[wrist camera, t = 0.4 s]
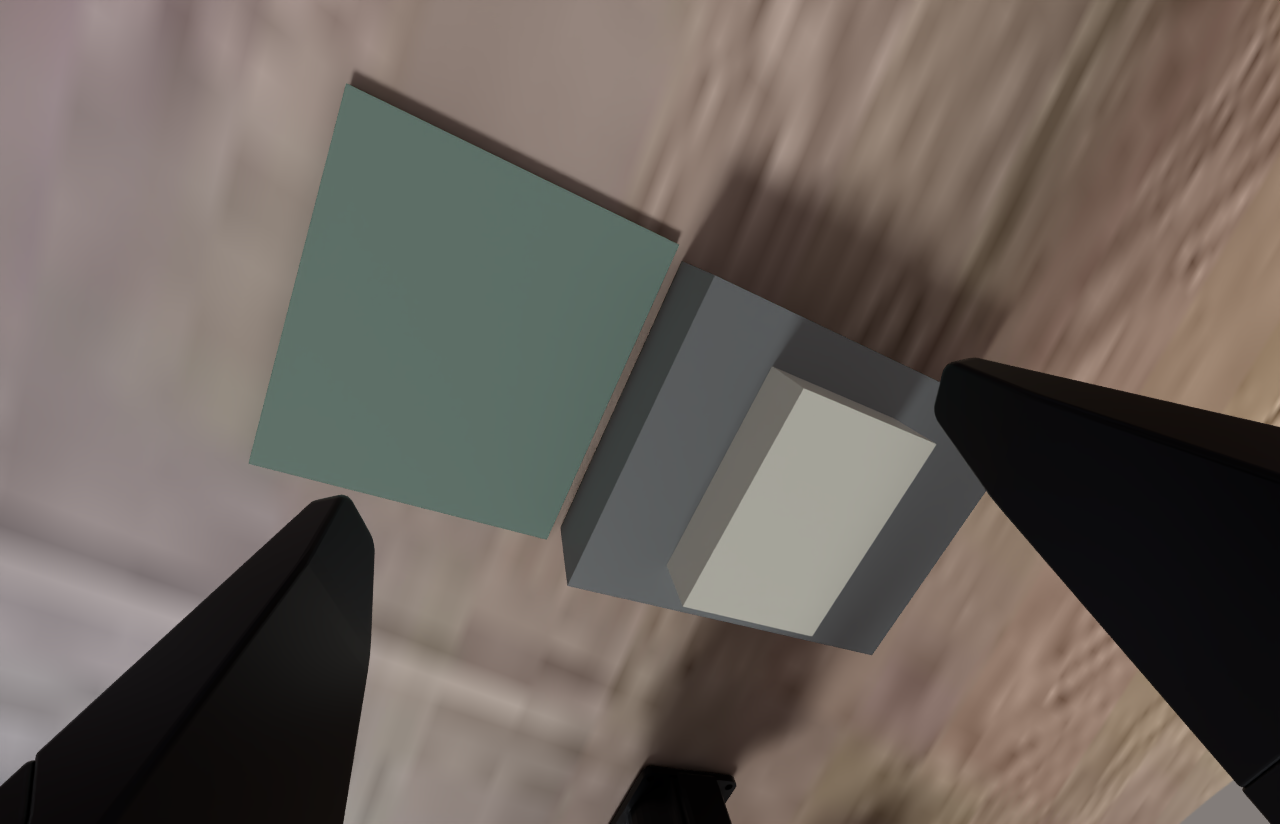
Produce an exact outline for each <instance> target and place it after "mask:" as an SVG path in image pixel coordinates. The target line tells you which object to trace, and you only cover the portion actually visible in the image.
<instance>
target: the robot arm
mask: <svg viewBox="0 0 1280 824" xmlns="http://www.w3.org/2000/svg"><path fill="white" fill-rule="evenodd" d="M934 414H935V417H936V420H937V422H938V423H939V425H940V426H941V428H942V429H943V430H944V432H945V433H946V435H947V436H948V438H949V439H950V440H951V442H952V443H953V445H954V446H955V447H956V449H957V450H958V452H959V453H960V455H961V456H962V457H963V459H964V460H965V462H966V463H967V465H968V466H969V467H970V469H971V470H972V472H973V473H974V475H975V476H976V477H977V479H978V480H979V482H980V483H981V485H982V486H983V487H984V489H985V490H986V491H987V493H988V494H989V495H990V497H991V498H992V499H993V500H994V502H995V503H996V504H997V505H998V506H999V508H1000V509H1001V510H1002V511H1003V512H1004V514H1005V515H1006V516H1007V517H1008V518H1009V519H1010V521H1011V522H1012V523H1013V524H1014V525H1015V526H1016V527H1017V529H1018V530H1019V531H1020V532H1021V533H1022V534H1023V536H1024V537H1025V538H1026V539H1027V540H1028V541H1029V543H1030V544H1031V545H1032V546H1033V547H1034V548H1035V550H1036V551H1037V552H1038V553H1039V554H1040V555H1041V557H1042V558H1043V559H1044V560H1045V561H1046V562H1047V564H1048V565H1049V566H1050V567H1051V568H1052V569H1053V570H1054V572H1055V573H1056V574H1057V575H1058V576H1059V577H1060V579H1061V580H1062V581H1063V582H1064V583H1065V584H1066V586H1067V587H1068V588H1069V589H1070V590H1071V591H1072V593H1073V594H1074V595H1075V596H1076V597H1077V598H1078V600H1079V601H1080V602H1081V603H1082V604H1083V605H1084V607H1085V608H1086V609H1087V610H1088V611H1089V612H1090V614H1091V615H1092V616H1093V617H1094V618H1095V619H1096V620H1097V622H1098V623H1099V624H1100V625H1101V626H1102V627H1103V629H1104V630H1105V631H1106V632H1107V633H1108V634H1109V636H1110V637H1111V638H1112V639H1113V640H1114V641H1115V643H1116V644H1117V645H1118V646H1119V647H1120V648H1121V650H1122V651H1123V652H1124V653H1125V654H1126V655H1127V657H1128V658H1129V659H1130V660H1131V661H1132V662H1133V664H1134V665H1135V666H1136V667H1137V668H1138V669H1139V670H1140V672H1141V673H1142V674H1143V675H1144V676H1145V677H1146V679H1147V680H1148V681H1149V682H1150V683H1151V684H1152V686H1153V687H1154V688H1155V689H1156V690H1157V691H1158V693H1159V694H1160V695H1161V696H1162V697H1163V698H1164V700H1165V701H1166V702H1167V703H1168V704H1169V705H1170V707H1171V708H1172V709H1173V710H1174V711H1175V712H1176V713H1177V715H1178V716H1179V717H1180V718H1181V719H1182V720H1183V722H1184V723H1185V724H1186V725H1187V726H1188V727H1189V729H1190V730H1191V731H1192V732H1193V733H1194V734H1195V736H1196V737H1197V738H1198V739H1199V740H1200V741H1201V743H1202V744H1203V745H1204V746H1205V747H1206V748H1207V750H1208V751H1209V752H1210V753H1211V754H1212V755H1213V757H1214V758H1215V759H1216V760H1217V761H1218V762H1219V763H1220V765H1221V766H1222V767H1223V768H1224V769H1225V770H1226V772H1227V773H1228V774H1229V775H1230V776H1231V777H1232V779H1233V780H1234V781H1235V782H1236V783H1237V784H1238V785H1239V786H1241V787H1243V789H1242V790H1243V792H1244V793H1245V794H1246V796H1247V797H1248V798H1249V799H1250V800H1251V802H1252V803H1253V804H1254V805H1255V806H1256V807H1257V809H1258V810H1259V811H1260V812H1261V813H1262V814H1263V815H1264V817H1265V818H1266V819H1267V820H1268V821H1269V823H1270V824H1280V427H1277V426H1273V425H1269V424H1264V423H1260V422H1256V421H1251V420H1247V419H1242V418H1238V417H1234V416H1229V415H1225V414H1221V413H1216V412H1212V411H1207V410H1203V409H1199V408H1194V407H1190V406H1185V405H1181V404H1177V403H1172V402H1168V401H1164V400H1159V399H1155V398H1150V397H1146V396H1142V395H1137V394H1133V393H1129V392H1124V391H1120V390H1115V389H1111V388H1107V387H1102V386H1098V385H1094V384H1089V383H1085V382H1080V381H1076V380H1072V379H1067V378H1063V377H1059V376H1054V375H1050V374H1045V373H1041V372H1037V371H1032V370H1028V369H1024V368H1019V367H1015V366H1010V365H1006V364H1002V363H997V362H993V361H989V360H984V359H980V358H968V359H964V360H959V361H955V362H951V363H949V364H948V365H947V366H946V367H945V368H944V370H943V373H942V377H941V381H940V384H939V388H938V392H937V396H936V400H935V404H934ZM374 555H375V550H374V543H373V539H372V536H371V534H370V532H369V530H368V528H367V527H366V525H365V523H364V521H363V519H362V518H361V516H360V514H359V512H358V510H357V509H356V507H355V505H354V503H353V502H352V500H351V499H350V498H349V497H348V496H345V495H337V496H332V497H328V498H323V499H318V500H315V501H313V502H311V503H310V504H309V505H308V506H306V507H305V508H304V509H303V510H302V511H301V512H300V513H299V514H298V515H297V516H296V517H294V518H293V519H292V520H291V521H290V522H289V523H288V524H287V525H286V526H285V527H284V528H282V529H281V530H280V531H279V532H278V533H277V534H276V535H275V536H274V537H273V538H271V539H270V540H269V541H268V542H267V543H266V544H265V545H264V546H263V547H262V548H261V549H259V550H258V551H257V552H256V553H255V554H254V555H253V556H252V557H251V558H250V559H249V560H247V561H246V562H245V563H244V564H243V565H242V566H241V567H240V568H239V569H238V570H237V571H235V572H234V573H233V574H232V575H231V576H230V577H229V578H228V579H227V580H226V581H225V582H223V583H222V584H221V585H220V586H219V587H218V588H217V589H216V590H215V591H214V592H212V593H211V594H210V595H209V596H208V597H207V598H206V599H205V600H204V601H203V602H202V603H200V604H199V605H198V606H197V607H196V608H195V609H194V610H193V611H192V612H191V613H190V614H188V615H187V616H186V617H185V618H184V619H183V620H182V621H181V622H180V623H179V624H177V625H176V626H175V627H174V628H173V629H172V630H171V631H170V632H169V633H168V634H167V635H165V636H164V637H163V638H162V639H161V640H160V641H159V642H158V643H157V644H156V645H155V646H153V647H152V648H151V649H150V650H149V651H148V652H147V653H146V654H145V655H144V656H142V657H141V658H140V659H139V660H138V661H137V662H136V663H135V664H134V665H133V666H132V667H130V668H129V669H128V670H127V671H126V672H125V673H124V674H123V675H122V676H121V677H120V678H118V679H117V680H116V681H115V682H114V683H113V684H112V685H111V686H110V687H109V688H107V689H106V690H105V691H104V692H103V693H102V694H101V695H100V696H99V697H98V698H97V699H95V700H94V701H93V702H92V703H91V704H90V705H89V706H88V707H87V708H86V709H85V710H83V711H82V712H81V713H80V714H79V715H78V716H77V717H76V718H75V719H74V720H72V721H71V722H70V723H69V724H68V725H67V726H66V727H65V728H64V729H63V730H62V731H60V732H59V733H58V734H57V735H56V736H55V737H54V738H53V739H52V740H51V741H50V742H48V743H47V744H46V745H45V746H44V747H43V748H42V749H41V750H40V751H39V752H38V753H37V754H36V758H35V760H34V761H29V762H27V763H25V764H24V765H23V766H22V767H21V768H20V769H19V770H18V771H16V772H15V773H14V774H13V775H12V776H11V777H10V778H9V779H8V780H7V781H6V782H5V783H3V784H2V785H1V786H0V824H343V821H344V815H345V809H346V803H347V796H348V790H349V784H350V778H351V772H352V766H353V759H354V753H355V747H356V741H357V735H358V729H359V722H360V716H361V710H362V704H363V698H364V692H365V685H366V679H367V673H368V666H369V658H370V647H371V630H372V605H373V580H374ZM735 788H736V782H735V780H734V777H733V776H731V775H723V774H714V773H706V772H697V771H689V770H680V769H672V768H663V767H655V766H649V767H646V768H645V769H643V770H642V772H641V773H640V775H639V777H638V778H637V780H636V782H635V784H634V785H633V787H632V789H631V790H630V792H629V794H628V795H627V797H626V799H625V801H624V802H623V804H622V806H621V807H620V809H619V811H618V812H617V814H616V816H615V817H614V819H613V821H612V823H611V824H732V823H731V820H730V817H729V814H728V811H727V808H726V805H725V803H726V801H727V800H728V798H729V797H730V795H731V794H732V792H733V791H734V789H735Z"/></svg>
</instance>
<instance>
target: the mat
mask: <svg viewBox="0 0 1280 824" xmlns="http://www.w3.org/2000/svg"><path fill="white" fill-rule="evenodd" d="M678 246H679V244H676V243H674V242H672V241H670V240H668V239H666V238H664V237H662V236H660V235H658V234H656V233H654V232H652V231H650V230H648V229H646V228H643V227H641V226H639V225H637V224H635V223H633V222H631V221H629V220H627V219H625V218H623V217H621V216H619V215H617V214H615V213H613V212H610V211H608V210H606V209H604V208H602V207H600V206H598V205H596V204H594V203H592V202H590V201H588V200H586V199H584V198H582V197H580V196H577V195H575V194H573V193H571V192H569V191H567V190H565V189H563V188H561V187H559V186H557V185H555V184H553V183H551V182H549V181H547V180H544V179H542V178H540V177H538V176H536V175H534V174H532V173H530V172H528V171H526V170H524V169H522V168H520V167H518V166H516V165H514V164H511V163H509V162H507V161H505V160H503V159H501V158H499V157H497V156H495V155H493V154H491V153H489V152H487V151H485V150H483V149H481V148H478V147H476V146H474V145H472V144H470V143H468V142H466V141H464V140H462V139H460V138H458V137H456V136H454V135H452V134H450V133H448V132H445V131H443V130H441V129H439V128H437V127H435V126H433V125H431V124H429V123H427V122H425V121H423V120H421V119H419V118H417V117H415V116H412V115H410V114H408V113H406V112H404V111H402V110H400V109H398V108H396V107H394V106H392V105H390V104H388V103H386V102H384V101H382V100H379V99H377V98H375V97H373V96H371V95H369V94H367V93H365V92H363V91H361V90H359V89H357V88H355V87H353V86H351V85H349V84H346V86H345V90H344V94H343V97H342V101H341V105H340V109H339V113H338V117H337V121H336V125H335V129H334V133H333V136H332V140H331V144H330V148H329V152H328V156H327V160H326V164H325V168H324V171H323V175H322V179H321V183H320V187H319V191H318V195H317V199H316V203H315V207H314V210H313V214H312V218H311V222H310V226H309V230H308V234H307V238H306V242H305V245H304V249H303V253H302V257H301V261H300V265H299V269H298V273H297V277H296V281H295V284H294V288H293V292H292V296H291V300H290V304H289V308H288V312H287V316H286V319H285V323H284V327H283V331H282V335H281V339H280V343H279V347H278V351H277V355H276V358H275V362H274V366H273V370H272V374H271V378H270V382H269V386H268V390H267V393H266V397H265V401H264V405H263V409H262V413H261V417H260V421H259V425H258V429H257V432H256V436H255V440H254V444H253V448H252V452H251V456H250V460H249V464H252V465H256V466H260V467H264V468H268V469H272V470H276V471H279V472H283V473H287V474H291V475H295V476H299V477H303V478H307V479H311V480H315V481H319V482H323V483H327V484H331V485H334V486H338V487H342V488H346V489H350V490H354V491H358V492H362V493H366V494H370V495H374V496H378V497H382V498H385V499H389V500H393V501H397V502H401V503H405V504H409V505H413V506H417V507H421V508H425V509H429V510H433V511H437V512H440V513H444V514H448V515H452V516H456V517H460V518H464V519H468V520H472V521H476V522H480V523H484V524H488V525H492V526H495V527H499V528H503V529H507V530H511V531H515V532H519V533H523V534H527V535H531V536H535V537H539V538H543V539H547V538H548V536H549V533H550V531H551V529H552V527H553V524H554V522H555V520H556V518H557V516H558V513H559V511H560V509H561V507H562V504H563V502H564V500H565V498H566V496H567V493H568V491H569V489H570V487H571V484H572V482H573V480H574V478H575V476H576V473H577V471H578V469H579V467H580V464H581V462H582V460H583V458H584V455H585V453H586V451H587V449H588V447H589V444H590V442H591V440H592V438H593V435H594V433H595V431H596V429H597V427H598V424H599V422H600V420H601V418H602V415H603V413H604V411H605V409H606V406H607V404H608V402H609V400H610V398H611V395H612V393H613V391H614V389H615V386H616V384H617V382H618V380H619V378H620V375H621V373H622V371H623V369H624V366H625V364H626V362H627V360H628V358H629V355H630V353H631V351H632V349H633V346H634V344H635V342H636V340H637V337H638V335H639V333H640V331H641V329H642V326H643V324H644V322H645V320H646V317H647V315H648V313H649V311H650V309H651V306H652V304H653V302H654V300H655V297H656V295H657V293H658V291H659V289H660V286H661V284H662V282H663V280H664V277H665V275H666V273H667V271H668V268H669V266H670V264H671V262H672V260H673V257H674V255H675V253H676V251H677V248H678Z"/></svg>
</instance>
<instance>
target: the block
mask: <svg viewBox="0 0 1280 824" xmlns="http://www.w3.org/2000/svg"><path fill="white" fill-rule="evenodd" d="M935 446H936V444H935V443H934V442H932V441H931V440H929V439H927V438H926V437H924V436H922V435H921V434H919V433H917V432H916V431H914V430H912V429H911V428H909V427H907V426H906V425H904V424H902V423H901V422H899V421H897V420H896V419H894V418H892V417H889V416H887V415H885V414H882V413H880V412H878V411H875V410H873V409H871V408H868V407H866V406H864V405H861V404H859V403H857V402H854V401H852V400H850V399H847V398H845V397H843V396H840V395H838V394H836V393H833V392H831V391H829V390H826V389H824V388H822V387H819V386H817V385H815V384H812V383H810V382H808V381H805V380H803V379H801V378H798V377H796V376H794V375H791V374H789V373H787V372H784V371H782V370H780V369H777V368H775V367H771V369H770V371H769V373H768V375H767V377H766V379H765V381H764V382H763V384H762V386H761V388H760V390H759V392H758V394H757V396H756V398H755V399H754V401H753V403H752V405H751V407H750V409H749V411H748V413H747V415H746V416H745V418H744V420H743V422H742V424H741V426H740V428H739V430H738V432H737V433H736V435H735V437H734V439H733V441H732V443H731V445H730V447H729V449H728V450H727V452H726V454H725V456H724V458H723V460H722V462H721V464H720V465H719V467H718V469H717V471H716V473H715V475H714V477H713V479H712V481H711V482H710V484H709V486H708V488H707V490H706V492H705V494H704V496H703V498H702V499H701V501H700V503H699V505H698V507H697V509H696V511H695V513H694V515H693V516H692V518H691V520H690V522H689V524H688V526H687V528H686V530H685V532H684V533H683V535H682V537H681V539H680V541H679V543H678V545H677V547H676V548H675V550H674V552H673V554H672V556H671V558H670V560H669V562H668V564H667V568H668V570H669V573H670V575H671V578H672V580H673V583H674V585H675V588H676V590H677V593H678V596H679V598H680V601H681V603H682V606H683V607H687V608H691V609H696V610H700V611H704V612H708V613H713V614H717V615H721V616H726V617H730V618H734V619H739V620H743V621H747V622H752V623H756V624H760V625H764V626H769V627H773V628H777V629H782V630H786V631H790V632H795V633H799V634H803V635H808V636H813V634H814V633H815V631H816V630H817V628H818V626H819V625H820V623H821V622H822V620H823V619H824V617H825V616H826V614H827V613H828V611H829V610H830V608H831V606H832V605H833V603H834V602H835V600H836V599H837V597H838V596H839V594H840V593H841V591H842V589H843V588H844V586H845V585H846V583H847V582H848V580H849V579H850V577H851V576H852V574H853V572H854V571H855V569H856V568H857V566H858V565H859V563H860V562H861V560H862V559H863V557H864V556H865V554H866V552H867V551H868V549H869V548H870V546H871V545H872V543H873V542H874V540H875V539H876V537H877V535H878V534H879V532H880V531H881V529H882V528H883V526H884V525H885V523H886V522H887V520H888V518H889V517H890V515H891V514H892V512H893V511H894V509H895V508H896V506H897V505H898V503H899V502H900V500H901V498H902V497H903V495H904V494H905V492H906V491H907V489H908V488H909V486H910V485H911V483H912V481H913V480H914V478H915V477H916V475H917V474H918V472H919V471H920V469H921V468H922V466H923V464H924V463H925V461H926V460H927V458H928V457H929V455H930V454H931V452H932V451H933V449H934V447H935Z"/></svg>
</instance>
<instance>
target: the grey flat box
mask: <svg viewBox="0 0 1280 824" xmlns="http://www.w3.org/2000/svg"><path fill="white" fill-rule="evenodd" d="M771 367H775V368H777V369H780V370H782V371H784V372H787V373H789V374H791V375H794V376H796V377H798V378H801V379H803V380H805V381H808V382H810V383H812V384H815V385H817V386H819V387H822V388H824V389H826V390H829V391H831V392H833V393H836V394H838V395H840V396H843V397H845V398H847V399H850V400H852V401H854V402H857V403H859V404H861V405H864V406H866V407H868V408H871V409H873V410H875V411H878V412H880V413H882V414H885V415H887V416H889V417H892V418H894V419H896V420H897V421H899V422H901V423H902V424H904V425H906V426H907V427H909V428H911V429H912V430H914V431H916V432H917V433H919V434H921V435H922V436H924V437H926V438H927V439H929V440H931V441H932V442H934V443H935V444H936V446H935V447H934V449H933V451H932V452H931V454H930V455H929V457H928V458H927V460H926V461H925V463H924V464H923V466H922V468H921V469H920V471H919V472H918V474H917V475H916V477H915V478H914V480H913V481H912V483H911V485H910V486H909V488H908V489H907V491H906V492H905V494H904V495H903V497H902V498H901V500H900V502H899V503H898V505H897V506H896V508H895V509H894V511H893V512H892V514H891V515H890V517H889V518H888V520H887V522H886V523H885V525H884V526H883V528H882V529H881V531H880V532H879V534H878V535H877V537H876V539H875V540H874V542H873V543H872V545H871V546H870V548H869V549H868V551H867V552H866V554H865V556H864V557H863V559H862V560H861V562H860V563H859V565H858V566H857V568H856V569H855V571H854V572H853V574H852V576H851V577H850V579H849V580H848V582H847V583H846V585H845V586H844V588H843V589H842V591H841V593H840V594H839V596H838V597H837V599H836V600H835V602H834V603H833V605H832V606H831V608H830V610H829V611H828V613H827V614H826V616H825V617H824V619H823V620H822V622H821V623H820V625H819V626H818V628H817V630H816V631H815V633H814V634H813V636H808V635H803V634H799V633H795V632H790V631H786V630H782V629H777V628H773V627H769V626H764V625H760V624H756V623H752V622H747V621H743V620H739V619H734V618H730V617H726V616H721V615H717V614H713V613H708V612H704V611H700V610H696V609H691V608H687V607H683V606H682V603H681V601H680V598H679V596H678V593H677V590H676V588H675V585H674V583H673V580H672V578H671V575H670V573H669V570H668V568H667V564H668V562H669V560H670V558H671V556H672V554H673V552H674V550H675V548H676V547H677V545H678V543H679V541H680V539H681V537H682V535H683V533H684V532H685V530H686V528H687V526H688V524H689V522H690V520H691V518H692V516H693V515H694V513H695V511H696V509H697V507H698V505H699V503H700V501H701V499H702V498H703V496H704V494H705V492H706V490H707V488H708V486H709V484H710V482H711V481H712V479H713V477H714V475H715V473H716V471H717V469H718V467H719V465H720V464H721V462H722V460H723V458H724V456H725V454H726V452H727V450H728V449H729V447H730V445H731V443H732V441H733V439H734V437H735V435H736V433H737V432H738V430H739V428H740V426H741V424H742V422H743V420H744V418H745V416H746V415H747V413H748V411H749V409H750V407H751V405H752V403H753V401H754V399H755V398H756V396H757V394H758V392H759V390H760V388H761V386H762V384H763V382H764V381H765V379H766V377H767V375H768V373H769V371H770V369H771ZM939 384H940V382H938V381H936V380H934V379H932V378H930V377H928V376H926V375H924V374H922V373H919V372H917V371H915V370H913V369H911V368H909V367H907V366H905V365H903V364H900V363H898V362H896V361H894V360H892V359H890V358H888V357H886V356H884V355H882V354H879V353H877V352H875V351H873V350H871V349H869V348H867V347H865V346H863V345H861V344H858V343H856V342H854V341H852V340H850V339H848V338H846V337H844V336H842V335H839V334H837V333H835V332H833V331H831V330H829V329H827V328H825V327H823V326H821V325H818V324H816V323H814V322H812V321H810V320H808V319H806V318H804V317H802V316H800V315H797V314H795V313H793V312H791V311H789V310H787V309H785V308H783V307H781V306H778V305H776V304H774V303H772V302H770V301H768V300H766V299H764V298H762V297H760V296H757V295H755V294H753V293H751V292H749V291H747V290H745V289H743V288H741V287H739V286H736V285H734V284H732V283H730V282H728V281H726V280H724V279H722V278H720V277H717V276H715V275H713V274H711V273H708V272H706V271H704V270H701V269H699V268H697V267H694V266H692V265H690V264H687V263H685V262H683V261H682V262H681V264H680V267H679V269H678V271H677V273H676V275H675V278H674V280H673V282H672V284H671V286H670V289H669V291H668V293H667V295H666V297H665V300H664V302H663V304H662V306H661V308H660V311H659V313H658V315H657V317H656V319H655V322H654V324H653V326H652V328H651V330H650V333H649V335H648V337H647V339H646V341H645V344H644V346H643V348H642V350H641V352H640V355H639V357H638V359H637V361H636V363H635V366H634V368H633V370H632V372H631V374H630V377H629V379H628V381H627V383H626V385H625V388H624V390H623V392H622V394H621V396H620V399H619V401H618V403H617V405H616V407H615V410H614V412H613V414H612V416H611V418H610V421H609V423H608V425H607V427H606V429H605V432H604V434H603V436H602V438H601V440H600V443H599V445H598V447H597V449H596V451H595V454H594V456H593V458H592V460H591V462H590V465H589V467H588V469H587V471H586V473H585V476H584V478H583V480H582V482H581V484H580V487H579V489H578V491H577V493H576V495H575V498H574V500H573V502H572V504H571V506H570V509H569V511H568V513H567V515H566V517H565V520H564V522H563V524H562V526H561V536H562V545H563V553H564V561H565V570H566V578H567V586H571V587H575V588H579V589H584V590H588V591H593V592H597V593H601V594H606V595H610V596H615V597H619V598H623V599H628V600H632V601H636V602H641V603H645V604H650V605H654V606H658V607H663V608H667V609H672V610H676V611H680V612H685V613H689V614H693V615H698V616H702V617H707V618H711V619H715V620H720V621H724V622H729V623H733V624H737V625H742V626H746V627H750V628H755V629H759V630H764V631H768V632H772V633H777V634H781V635H786V636H790V637H794V638H799V639H803V640H808V641H812V642H816V643H821V644H825V645H829V646H834V647H838V648H843V649H847V650H851V651H856V652H860V653H865V654H869V655H872V654H873V653H874V651H875V650H876V649H877V647H878V646H879V644H880V643H881V641H882V640H883V638H884V637H885V636H886V634H887V633H888V631H889V630H890V628H891V627H892V626H893V624H894V623H895V621H896V620H897V618H898V617H899V615H900V614H901V613H902V611H903V610H904V608H905V607H906V605H907V604H908V602H909V601H910V600H911V598H912V597H913V595H914V594H915V592H916V591H917V590H918V588H919V587H920V585H921V584H922V582H923V581H924V579H925V578H926V577H927V575H928V574H929V572H930V571H931V569H932V568H933V567H934V565H935V564H936V562H937V561H938V559H939V558H940V556H941V555H942V554H943V552H944V551H945V549H946V548H947V546H948V545H949V543H950V542H951V541H952V539H953V538H954V536H955V535H956V533H957V532H958V531H959V529H960V528H961V526H962V525H963V523H964V522H965V520H966V519H967V518H968V516H969V515H970V513H971V512H972V510H973V509H974V508H975V506H976V505H977V503H978V502H979V500H980V499H981V497H982V496H983V495H984V493H985V492H986V490H985V489H984V487H983V486H982V485H981V483H980V482H979V480H978V479H977V477H976V476H975V475H974V473H973V472H972V470H971V469H970V467H969V466H968V465H967V463H966V462H965V460H964V459H963V457H962V456H961V455H960V453H959V452H958V450H957V449H956V447H955V446H954V445H953V443H952V442H951V440H950V439H949V438H948V436H947V435H946V433H945V432H944V430H943V429H942V428H941V426H940V425H939V423H938V422H937V420H936V417H935V414H934V404H935V400H936V396H937V392H938V388H939Z"/></svg>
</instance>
